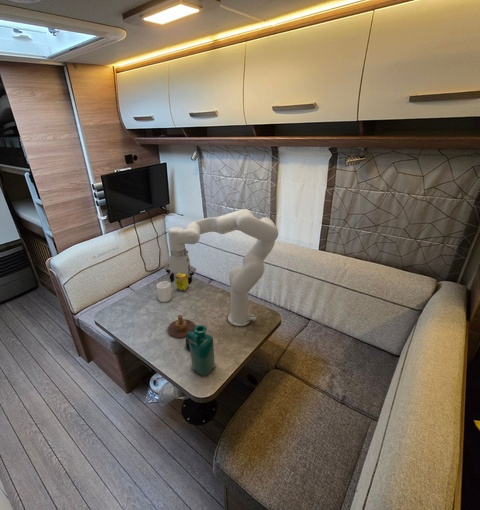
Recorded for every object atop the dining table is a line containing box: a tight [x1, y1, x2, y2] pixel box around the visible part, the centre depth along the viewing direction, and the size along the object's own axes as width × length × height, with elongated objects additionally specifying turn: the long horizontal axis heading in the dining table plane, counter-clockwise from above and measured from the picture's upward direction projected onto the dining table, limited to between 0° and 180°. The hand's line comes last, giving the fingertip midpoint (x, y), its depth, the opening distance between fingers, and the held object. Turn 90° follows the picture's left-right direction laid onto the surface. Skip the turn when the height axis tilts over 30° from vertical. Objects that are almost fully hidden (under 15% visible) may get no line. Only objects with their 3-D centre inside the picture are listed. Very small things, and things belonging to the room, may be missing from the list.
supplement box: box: [174, 273, 189, 292], centre depth 185 cm, size 6×6×11 cm
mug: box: [155, 280, 172, 303], centre depth 176 cm, size 12×8×10 cm
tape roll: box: [185, 337, 190, 352], centre depth 137 cm, size 7×7×4 cm
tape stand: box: [167, 314, 196, 339], centre depth 148 cm, size 14×14×8 cm
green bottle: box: [186, 324, 216, 377], centre depth 120 cm, size 10×8×22 cm
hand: (181, 282), depth 144 cm, fingers open, 9 cm apart
